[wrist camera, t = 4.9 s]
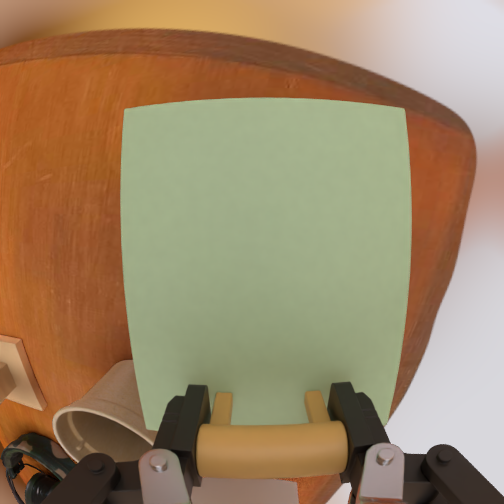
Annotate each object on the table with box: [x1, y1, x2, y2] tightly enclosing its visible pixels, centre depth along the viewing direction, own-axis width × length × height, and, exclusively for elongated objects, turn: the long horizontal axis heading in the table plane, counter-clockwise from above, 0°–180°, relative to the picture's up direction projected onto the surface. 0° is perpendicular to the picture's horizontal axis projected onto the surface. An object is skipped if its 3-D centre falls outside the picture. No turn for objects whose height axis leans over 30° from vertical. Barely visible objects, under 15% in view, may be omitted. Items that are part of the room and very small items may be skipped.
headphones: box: [1, 433, 77, 504], centre depth 27 cm, size 13×13×20 cm
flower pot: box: [52, 360, 158, 463], centre depth 21 cm, size 9×9×9 cm
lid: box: [120, 98, 412, 479], centre depth 10 cm, size 15×12×5 cm
